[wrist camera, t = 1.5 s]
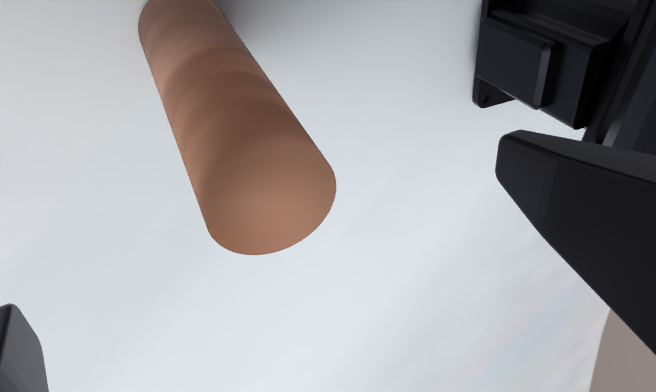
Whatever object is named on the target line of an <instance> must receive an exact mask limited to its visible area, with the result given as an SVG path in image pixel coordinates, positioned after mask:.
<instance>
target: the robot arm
mask: <svg viewBox="0 0 656 392" xmlns="http://www.w3.org/2000/svg"><path fill="white" fill-rule="evenodd" d="M485 94H486V95H485ZM484 95H485V97H484V98H483V96H484ZM482 98H483V99H482ZM515 99H517V100H518V101H520V102H522V103H524V104H525V105H527V106H529V107H531V108H532V109H534V110H538V109H539V110H541V111H543V112H545V113H546V114H548V115H550V116H552V117H553V118H555V119H557V120H559V121H560V122H562V123H564V124H566V125H567V126H569V127H571V128H573V129H574V130H578V129H581V128H584V129H586V130H585V133H584V135H583V138H582V140H581V141H578V140H573V139H567V138H562V137H557V136H552V135H546V134H541V133H536V132H531V131H525V130H517V131H514V132H511V133H508V134H505V135H503V136H502V137H501V139H500V140H499V145H498V152H497V160H496V167H495V173H496V177H497V179H498V181H499V182H500V184H501V185H502V186H503V188H504V189H505V190H506V191H507V193H508V194H509V195H510V197H511V198H512V199H513V200H514V202H515V203H516V204H517V205H518V207H519V208H520V209H521V211H522V212H523V213H524V214H525V216H526V217H527V218H528V220H529V221H530V222H531V223H532V225H533V226H534V227H535V228H536V230H537V231H538V232H539V233H540V235H541V236H542V237H543V238H544V239H545V240H546V241H547V242H548V243H549V244H550V245H551V247H552V248H553V249H554V250H555V251H556V252H557V253H558V254H559V255H560V256H561V257H562V258H563V259H564V260H565V261H566V262H567V263H568V264H569V265H570V266H571V267H572V268H573V269H574V271H575V272H576V273H577V274H578V275H579V276H580V277H581V278H582V279H583V280H584V281H585V282H586V283H587V284H588V285H589V286H590V287H591V288H592V289H593V290H594V291H595V292H596V294H597V295H598V296H599V297H600V298H601V299H602V300H603V301H604V302H605V303H606V304H607V305H608V306H609V307H610V308H611V309H612V310H613V311H614V312H615V313H616V314H617V315H618V316H619V318H620V319H621V320H622V321H623V322H624V323H625V324H626V325H627V326H628V327H629V328H630V329H631V330H632V331H633V332H634V333H635V334H636V335H637V336H638V337H639V338H640V339H641V340H642V342H644V343H645V345H646V346H647V347H648V348H649V349H650V350H651V351H652V352H653V353H654V354H655V355H656V0H483V2H482V12H481V21H480V31H479V40H478V50H477V59H476V69H475V79H474V88H473V102H474V104H476V105H477V106H479V107H480V108H487V107H490V106H494V105H497V104H501V103H504V102H508V101H512V100H515ZM0 392H49V390H48V384H47V377H46V371H45V364H44V358H43V352H42V347H41V344H40V341H39V339H38V337H37V335H36V334H35V332H34V331H33V329H32V328H31V326H30V325H29V323H28V322H27V320H26V319H25V317H24V316H23V314H22V312H21V311H20V309H19V308H18V307H17V306H16V305H14V304H6V305H3V306H0Z"/></svg>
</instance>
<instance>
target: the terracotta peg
mask: <svg viewBox="0 0 656 392" xmlns="http://www.w3.org/2000/svg"><path fill="white" fill-rule="evenodd" d="M138 33H139V38H140V42H141V45H142V47H143V50H144V53H145V56H146V59H147V61H148V64H149V67H150V70H151V73H152V75H153V78H154V81H155V84H156V87H157V89H158V92H159V95H160V98H161V100H162V103H163V106H164V109H165V112H166V114H167V117H168V120H169V123H170V126H171V128H172V131H173V134H174V137H175V140H176V142H177V145H178V148H179V151H180V154H181V156H182V159H183V162H184V165H185V167H186V170H187V173H188V176H189V179H190V181H191V184H192V187H193V190H194V193H195V195H196V198H197V201H198V204H199V207H200V209H201V212H202V215H203V218H204V221H205V223H206V226H207V229H208V231H209V233H210V235H211V236H212V238H213V239H214V240H215V241H216V242H217V243H218V244H220V245H221V246H222V247H224V248H226V249H227V250H230V251H232V252H235V253H239V254H246V255H262V254H269V253H273V252H277V251H280V250H283V249H286V248H288V247H290V246H292V245H294V244H296V243H298V242H299V241H301V240H303V239H304V238H305V237H307V236H308V235H310V234H311V233H312V232H313V231H314V230H315V229H316V228H317V227H318V226H319V225H320V224H321V223H322V221H323V220H324V219H325V217H326V216H327V214H328V213H329V211H330V209H331V207H332V204H333V201H334V198H335V193H336V179H335V175H334V172H333V170H332V168H331V166H330V165H329V163H328V162H327V160H326V159H325V158H324V156H323V155H322V153H321V152H320V151H319V149H318V148H317V146H316V145H315V143H314V142H313V141H312V139H311V138H310V136H309V135H308V134H307V132H306V131H305V129H304V128H303V127H302V125H301V124H300V122H299V121H298V119H297V118H296V117H295V115H294V114H293V112H292V111H291V110H290V108H289V107H288V105H287V104H286V103H285V101H284V100H283V98H282V97H281V95H280V94H279V93H278V91H277V90H276V88H275V87H274V86H273V84H272V83H271V81H270V80H269V79H268V77H267V76H266V74H265V73H264V71H263V70H262V69H261V67H260V66H259V64H258V63H257V62H256V60H255V59H254V57H253V56H252V55H251V53H250V52H249V50H248V49H247V47H246V46H245V45H244V43H243V42H242V40H241V39H240V38H239V36H238V35H237V33H236V32H235V31H234V29H233V28H232V26H231V25H230V23H229V22H228V21H227V19H226V18H225V16H224V15H223V14H222V12H221V11H220V9H219V8H218V7H217V5H216V4H215V3H214V2H213V1H212V0H150V1H149V2H148V3H147V4H146V6H145V7H144V9H143V11H142V13H141V16H140V19H139V24H138Z"/></svg>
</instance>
